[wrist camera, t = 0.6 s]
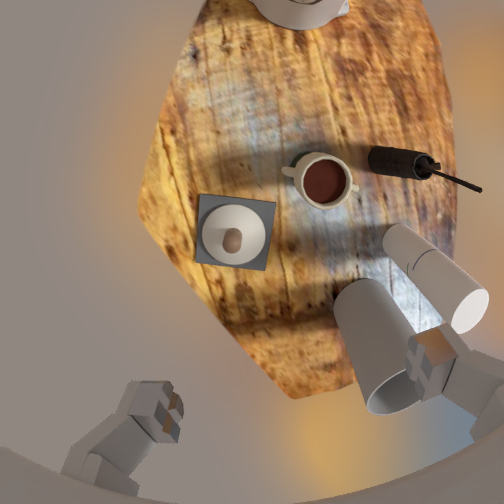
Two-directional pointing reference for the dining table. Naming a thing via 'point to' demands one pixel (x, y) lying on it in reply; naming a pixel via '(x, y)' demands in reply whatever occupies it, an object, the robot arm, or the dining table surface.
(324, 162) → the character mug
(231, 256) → the lid
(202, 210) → the mat
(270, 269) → the dining table surface
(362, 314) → the cylinder vase
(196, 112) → the dining table surface
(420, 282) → the cylindrical container
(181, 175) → the dining table surface
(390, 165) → the butter churn
